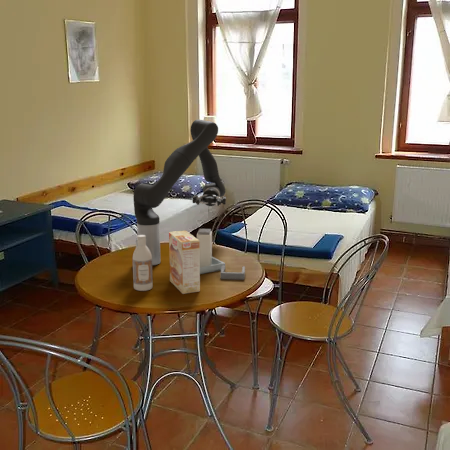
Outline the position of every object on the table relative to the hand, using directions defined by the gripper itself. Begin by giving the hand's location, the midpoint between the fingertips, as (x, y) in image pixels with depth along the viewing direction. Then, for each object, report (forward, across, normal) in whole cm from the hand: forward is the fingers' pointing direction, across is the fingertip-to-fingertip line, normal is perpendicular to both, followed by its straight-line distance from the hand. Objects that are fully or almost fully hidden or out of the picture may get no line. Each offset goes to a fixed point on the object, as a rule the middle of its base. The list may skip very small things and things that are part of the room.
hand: (208, 202), depth 229 cm
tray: (+10, -1, +25) cm, 27 cm away
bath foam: (+35, -20, +26) cm, 48 cm away
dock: (+19, +12, +25) cm, 34 cm away
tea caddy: (+10, 0, +24) cm, 26 cm away
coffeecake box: (+32, -5, +26) cm, 42 cm away
